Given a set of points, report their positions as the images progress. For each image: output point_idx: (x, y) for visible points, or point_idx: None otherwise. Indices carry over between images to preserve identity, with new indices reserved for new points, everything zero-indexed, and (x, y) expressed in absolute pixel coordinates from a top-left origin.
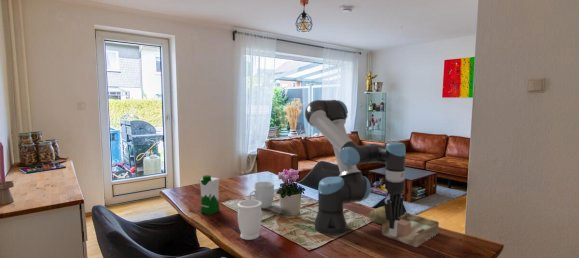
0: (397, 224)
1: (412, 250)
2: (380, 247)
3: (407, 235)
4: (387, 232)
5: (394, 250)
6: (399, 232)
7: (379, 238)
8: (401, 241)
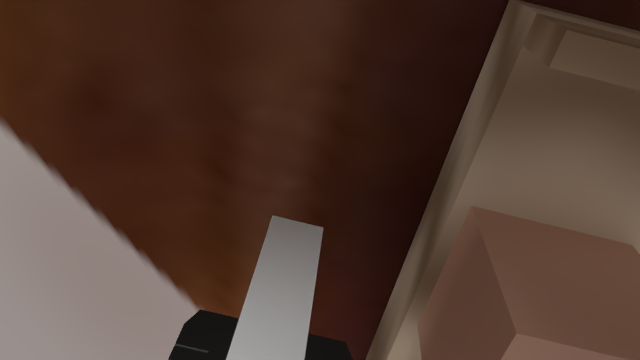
0: (479, 356)
1: None
2: (123, 111)
3: None
4: (485, 108)
5: (172, 241)
6: (445, 295)
7: (351, 15)
8: (408, 256)
